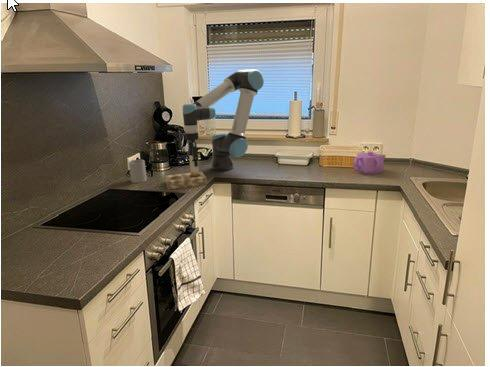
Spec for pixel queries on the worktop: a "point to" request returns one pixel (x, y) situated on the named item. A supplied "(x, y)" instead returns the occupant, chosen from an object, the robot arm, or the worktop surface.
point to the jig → (185, 180)
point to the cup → (137, 171)
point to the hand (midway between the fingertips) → (194, 168)
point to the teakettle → (369, 163)
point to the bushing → (193, 174)
